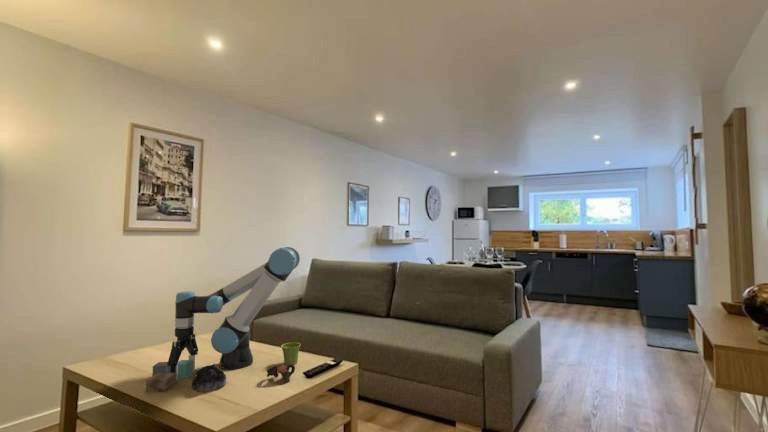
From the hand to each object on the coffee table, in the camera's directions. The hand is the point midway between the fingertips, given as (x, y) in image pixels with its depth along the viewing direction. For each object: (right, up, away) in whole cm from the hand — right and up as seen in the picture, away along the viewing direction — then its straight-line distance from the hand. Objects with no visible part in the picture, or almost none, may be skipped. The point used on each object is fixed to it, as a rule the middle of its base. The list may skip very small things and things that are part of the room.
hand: (183, 375), depth 170 cm
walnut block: (-2, 0, -14) cm, 14 cm away
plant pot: (+44, -1, +16) cm, 47 cm away
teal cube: (0, 0, 0) cm, 0 cm away
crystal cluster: (+17, 0, -12) cm, 21 cm away
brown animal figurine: (+45, 0, -5) cm, 46 cm away
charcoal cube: (-8, 0, -3) cm, 8 cm away
